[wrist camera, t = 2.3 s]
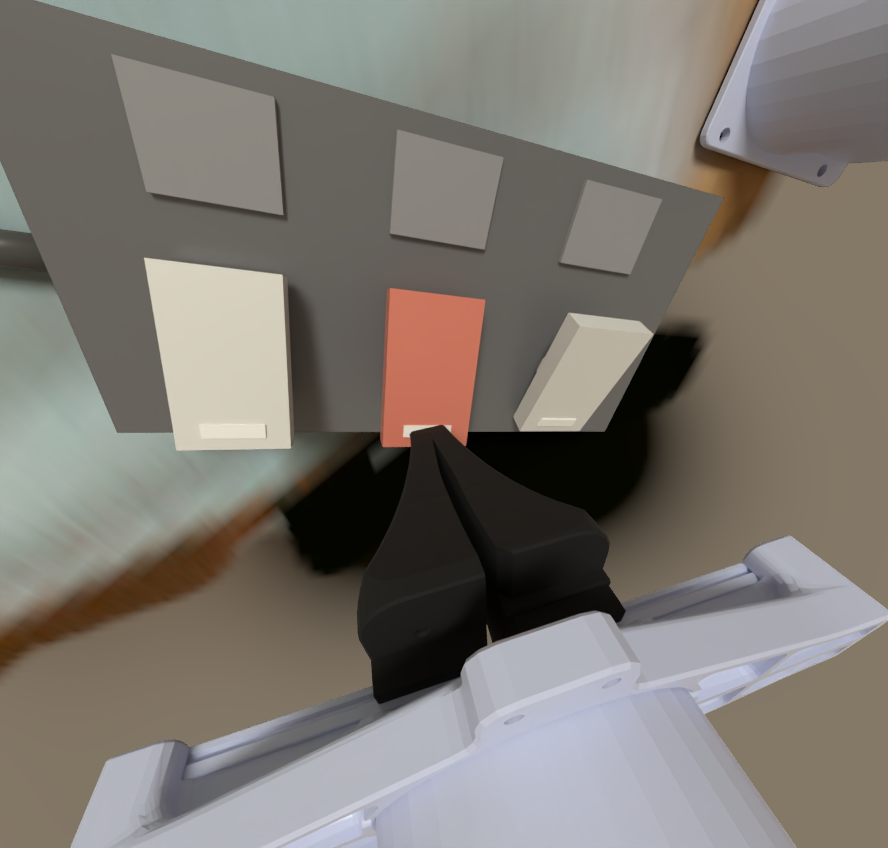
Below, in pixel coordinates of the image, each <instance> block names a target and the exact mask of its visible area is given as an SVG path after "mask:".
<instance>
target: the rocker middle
mask: <svg viewBox="0 0 888 848" xmlns="http://www.w3.org/2000/svg"><path fill="white" fill-rule="evenodd" d="M484 308H485V300H483V299H475V298H467V297H459V296H451V295H443V294H435V293H427V292H418V291H410V290H402V289H394V288H388V289H387V293H386V316H385V339H384V362H383V385H382V407H381V430H380V439H381V443H382V446H383V447H411V441H410V435H409V434H410V433H411V432H412V431H416V430H420V429H425V428H429V427H434V426H438V425H444V426H445V427H446V428H447V429H448V430H449V431H450V432H451V433H452V434H453V435H454V436H455V437H456V438H457V439H458V440H459V441H460V442H461V443H462V444H463V445H464V446H466V443H467V435H468V428H469V420H470V413H471V405H472V398H473V390H474V383H475V375H476V368H477V360H478V353H479V345H480V338H481V330H482V323H483V315H484Z"/></svg>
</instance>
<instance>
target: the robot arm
mask: <svg viewBox="0 0 888 848" xmlns="http://www.w3.org/2000/svg"><path fill="white" fill-rule="evenodd" d="M721 132H722V137H721V139H719V138H720V134H721ZM700 144H701V146H702V147H704V148H707V149H709V150H712V151H715V152H718V153H721V154H724V155H727V156H730V157H733V158H736V159H739V160H742V161H745V162H748V163H751V164H754V165H757V166H760V167H762V168H765V169H768V170H771V171H774V172H777V173H780V174H783V175H786V176H789V177H792V178H795V179H798V180H801V181H804V182H807V183H810V184H813V185H815V186H818V187H829V186H831V185H832V184H834V183H835V182H836V181H837V179H838V178H839V177H840V175H841V174H842V172H843V171H844V169H845V168H846V166H847V164H848V163H862V162H877V161H878V162H879V161H888V0H760V1H759V3H758V5H757V7H756V10H755V12H754V14H753V16H752V19H751V21H750V23H749V25H748V28H747V30H746V32H745V34H744V37H743V39H742V41H741V43H740V46H739V48H738V50H737V53H736V55H735V57H734V59H733V62H732V64H731V66H730V68H729V71H728V73H727V75H726V77H725V80H724V82H723V84H722V86H721V89H720V91H719V93H718V96H717V98H716V100H715V102H714V105H713V107H712V109H711V111H710V114H709V116H708V118H707V120H706V123H705V125H704V127H703V129H702V132H701V135H700ZM409 435H410V441H411V450H410V460H409V467H408V472H407V477H406V481H405V486H404V489H403V493H402V496H401V499H400V502H399V505H398V508H397V510H396V513H395V515H394V518H393V520H392V523H391V525H390V527H389V529H388V531H387V533H386V535H385V537H384V539H383V541H382V543H381V545H380V547H379V549H378V550H377V552H376V554H375V555H374V557H373V559H372V560H371V562H370V564H369V565H368V567H367V569H366V570H365V572H364V574H363V579H362V583H361V588H360V593H359V599H358V610H357V623H358V624H357V625H358V636H359V640H360V642H361V644H362V646H363V647H364V649H365V651H366V653H367V654H368V656H369V657H370V659H371V666H372V682H373V686H371V687H368V688H365V689H362V690H359V691H356V692H353V693H350V694H347V695H344V696H341V697H338V698H335V699H332V700H329V701H326V702H323V703H320V704H317V705H314V706H311V707H308V708H305V709H302V710H300V711H296V712H293V713H290V714H288V715H284V716H281V717H278V718H275V719H273V720H269V721H266V722H263V723H260V724H257V725H255V726H252V727H248V728H245V729H242V730H239V731H236V732H234V733H231V734H227V735H225V736H222V737H219V738H215V739H213V740H209V741H207V742H204V743H201V744H198V745H195V746H192V747H189V746H188V745H187V744H185V743H184V742H182V741H179V740H164V741H159V742H156V743H153V744H150V745H146V746H143V747H141V748H138V749H134V750H131V751H128V752H125V753H122V754H119V755H116V756H113V757H111V758H110V759H109V760H107V761H106V763H105V765H104V768H103V770H102V772H101V775H100V777H99V780H98V782H97V785H96V787H95V790H94V792H93V794H92V797H91V799H90V801H89V804H88V806H87V808H86V811H85V813H84V816H83V818H82V821H81V823H80V825H79V828H78V830H77V833H76V835H75V837H74V840H73V842H72V845H71V847H70V848H797V847H796V846H795V844H794V843H793V841H792V840H791V839H790V837H789V836H788V834H787V833H786V831H785V830H784V828H783V827H782V825H781V824H780V823H779V821H778V820H777V818H776V817H775V815H774V814H773V812H772V811H771V810H770V808H769V807H768V805H767V804H766V802H765V801H764V800H763V798H762V797H761V795H760V794H759V792H758V791H757V790H756V788H755V787H754V785H753V784H752V782H751V781H750V779H749V778H748V777H747V775H746V774H745V772H744V771H743V770H742V768H741V767H740V765H739V764H738V762H737V761H736V759H735V758H734V756H733V755H732V754H731V752H730V751H729V749H728V748H727V746H726V745H725V744H724V742H723V741H722V739H721V738H720V736H719V735H718V734H717V732H716V731H715V729H714V728H713V726H712V725H711V724H710V722H709V721H708V719H707V718H706V716H705V715H704V714H706V713H708V712H710V711H713V710H715V709H717V708H719V707H721V706H724V705H725V704H728V703H730V702H732V701H734V700H737V699H738V698H741V697H743V696H745V695H747V694H749V693H752V692H754V691H756V690H758V689H760V688H763V687H765V686H767V685H769V684H772V683H774V682H776V681H778V680H780V679H782V678H784V677H787V676H789V675H792V674H794V673H796V672H799V671H801V670H803V669H806V668H808V667H810V666H813V665H815V664H818V663H820V662H823V661H825V660H827V659H829V658H832V657H835V656H836V655H838V654H839V653H841V652H842V651H844V650H845V649H847V648H848V647H850V646H851V645H853V644H854V643H856V642H857V641H859V640H860V639H862V638H863V637H865V636H866V635H868V634H869V633H871V632H872V631H874V630H875V629H877V628H878V627H880V626H881V625H883V624H884V623H886V622H887V621H888V610H887V609H886V608H885V607H883V606H882V605H881V604H880V603H878V602H877V601H876V600H874V599H873V598H872V597H870V596H869V595H868V594H866V593H865V592H864V591H862V590H861V589H860V588H858V587H857V586H856V585H855V584H853V583H852V582H851V581H849V580H848V579H847V578H845V577H844V576H843V575H841V574H840V573H839V572H837V571H836V570H835V569H834V568H832V567H831V566H830V565H828V564H827V563H826V562H824V561H823V560H822V559H820V558H819V557H818V556H816V555H815V554H814V553H812V552H811V551H810V550H808V549H807V548H806V547H805V546H803V545H802V544H801V543H799V542H798V541H797V540H795V539H794V538H793V537H792V536H783V537H780V538H777V539H774V540H771V541H768V542H765V543H762V544H759V545H757V546H755V547H754V548H752V549H751V550H750V551H749V552H748V553H747V554H746V555H745V557H744V559H743V562H741V563H739V564H736V565H732V566H729V567H727V568H723V569H720V570H717V571H714V572H712V573H709V574H706V575H702V576H699V577H697V578H693V579H691V580H688V581H685V582H682V583H679V584H676V585H673V586H670V587H667V588H664V589H661V590H658V591H655V592H652V593H649V594H646V595H643V596H640V597H637V598H634V599H631V600H628V601H625V602H622V603H620V601H619V600H618V598H617V597H616V595H615V594H614V593H613V591H612V590H611V588H610V587H609V585H610V579H609V578H608V576H607V575H606V573H605V572H604V570H603V566H604V563H605V560H606V557H607V554H608V551H609V544H610V542H609V540H608V537H607V536H606V534H605V533H604V532H603V531H602V529H601V528H600V527H599V526H598V524H597V523H596V522H595V521H594V520H593V519H592V518H591V517H590V516H589V515H588V514H587V513H586V512H585V511H584V510H583V509H580V508H577V507H574V506H571V505H568V504H565V503H561V502H558V501H556V500H553V499H550V498H548V497H546V496H543V495H541V494H538V493H536V492H534V491H532V490H530V489H528V488H526V487H524V486H522V485H520V484H518V483H516V482H514V481H512V480H510V479H509V478H507V477H505V476H504V475H502V474H501V473H499V472H497V471H496V470H494V469H493V468H492V467H490V466H489V465H487V464H486V463H485V462H483V461H482V460H481V459H479V458H478V457H477V456H476V455H474V454H473V453H472V452H471V451H470V450H469V449H467V448H466V447H465V446H464V445H463V444H462V443H461V442H460V441H459V440H458V439H457V438H456V437H455V436H454V435H453V434H452V433H451V432H450V431H449V430H448V429H447V428H446V427H445V426H444V425H438V426H434V427H429V428H425V429H420V430H416V431H412V432H411V433H410V434H409ZM486 624H487V625H488V629H489V632H490V635H491V639H492V644H490V645H487V631H486Z"/></svg>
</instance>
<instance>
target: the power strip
mask: <svg viewBox="0 0 888 848" xmlns="http://www.w3.org/2000/svg"><path fill="white" fill-rule="evenodd" d="M0 161H1V164H2V166H3V168H4V171H5V173H6V175H7V178H8V180H9V182H10V185H11V187H12V189H13V192H14V194H15V196H16V199H17V201H18V203H19V206H20V208H21V210H22V212H23V215H24V217H25V219H26V222H27V224H28V226H29V229H30V231H31V233H25V232H17V231H9V230H2V229H0V267H5V268H14V269H23V270H33V271H42V272H48V273H49V275H50V278H51V280H52V282H53V285H54V287H55V289H56V291H57V294H58V296H59V298H60V301H61V303H62V305H63V308H64V310H65V312H66V315H67V317H68V319H69V322H70V324H71V326H72V329H73V331H74V333H75V336H76V338H77V340H78V343H79V345H80V347H81V350H82V352H83V354H84V357H85V359H86V361H87V364H88V366H89V368H90V371H91V373H92V375H93V377H94V380H95V382H96V384H97V387H98V389H99V391H100V394H101V396H102V398H103V401H104V403H105V405H106V408H107V410H108V412H109V415H110V417H111V419H112V422H113V424H114V426H115V429H116V431H117V433H165V432H173V427H172V421H171V415H170V409H169V403H168V397H167V391H166V385H165V379H164V373H163V367H162V361H161V356H160V350H159V344H158V338H157V332H156V326H155V320H154V314H153V308H152V302H151V296H150V290H149V284H148V278H147V272H146V267H145V261H144V258H151V259H159V260H167V261H175V262H183V263H191V264H200V265H208V266H216V267H224V268H232V269H240V270H248V271H256V272H264V273H272V274H281V275H284V276H287V283H288V305H289V327H290V350H291V372H292V394H293V417H294V432H380V430H381V407H382V385H383V362H384V339H385V316H386V293H387V289H388V288H394V289H402V290H410V291H418V292H427V293H435V294H443V295H451V296H459V297H467V298H475V299H483V300H485V308H484V315H483V323H482V330H481V338H480V345H479V353H478V360H477V368H476V375H475V383H474V390H473V398H472V405H471V413H470V420H469V428H468V432H532V431H519V428H518V426H517V424H516V422H515V420H514V417H513V416H514V414H515V413H516V411H517V409H518V407H519V405H520V403H521V401H522V399H523V397H524V396H525V394H526V392H527V390H528V388H529V386H530V384H531V382H532V380H533V379H534V377H535V375H536V373H537V371H536V370H537V368H538V366H539V365H540V363H541V361H542V359H543V357H544V358H545V356H546V354H547V352H548V350H549V348H550V346H551V345H552V343H553V341H554V339H555V337H556V335H557V333H558V331H559V329H560V328H561V326H562V324H563V322H564V320H565V318H566V316H567V314H568V313H576V314H584V315H593V316H601V317H609V318H617V319H626V320H634V321H640V322H641V323H642V324H643V325H644V326H645V327H646V328H647V329H648V330H650V331H651V332H652V333H653V336H654V334H655V332H656V330H657V328H658V326H659V324H660V322H661V320H662V318H663V316H664V314H665V312H666V310H667V308H668V306H669V304H670V302H671V300H672V298H673V296H674V294H675V293H676V291H677V289H678V287H679V285H680V283H681V281H682V279H683V277H684V275H685V273H686V271H687V269H688V267H689V265H690V263H691V261H692V259H693V257H694V255H695V253H696V252H697V250H698V248H699V246H700V244H701V242H702V240H703V238H704V236H705V234H706V232H707V230H708V228H709V226H710V224H711V222H712V220H713V218H714V216H715V214H716V212H717V210H718V208H719V206H720V205H721V203H722V201H723V199H724V198H723V197H720V196H716V195H713V194H709V193H706V192H702V191H699V190H695V189H692V188H688V187H685V186H681V185H678V184H674V183H671V182H667V181H664V180H660V179H657V178H653V177H650V176H646V175H643V174H639V173H636V172H632V171H629V170H625V169H622V168H618V167H615V166H611V165H608V164H604V163H601V162H597V161H594V160H590V159H587V158H583V157H580V156H576V155H573V154H569V153H566V152H562V151H559V150H555V149H552V148H548V147H545V146H541V145H538V144H534V143H531V142H528V141H524V140H521V139H517V138H514V137H510V136H507V135H503V134H500V133H496V132H493V131H489V130H486V129H482V128H479V127H475V126H472V125H468V124H465V123H461V122H458V121H454V120H451V119H447V118H444V117H440V116H437V115H433V114H430V113H426V112H423V111H419V110H416V109H412V108H409V107H405V106H402V105H398V104H395V103H391V102H388V101H384V100H381V99H377V98H374V97H370V96H367V95H363V94H360V93H356V92H353V91H349V90H346V89H342V88H339V87H335V86H332V85H328V84H325V83H321V82H318V81H314V80H311V79H307V78H304V77H300V76H297V75H293V74H290V73H286V72H283V71H279V70H276V69H272V68H269V67H265V66H262V65H258V64H255V63H251V62H248V61H244V60H241V59H237V58H234V57H230V56H227V55H223V54H220V53H216V52H213V51H209V50H206V49H202V48H199V47H196V46H192V45H189V44H185V43H182V42H178V41H175V40H171V39H168V38H164V37H161V36H157V35H154V34H150V33H147V32H143V31H140V30H136V29H133V28H129V27H126V26H122V25H119V24H115V23H112V22H108V21H105V20H101V19H98V18H94V17H91V16H87V15H84V14H80V13H77V12H73V11H70V10H66V9H63V8H59V7H56V6H52V5H49V4H45V3H42V2H38V1H35V0H0ZM653 336H652V337H651V338H650V340H649V341H648V342H647V344H646V345H645V346H644V348H643V349H642V350H641V351H640V353H639V354H638V355H637V357H636V358H635V359H634V361H633V362H632V363H631V364H630V366H629V367H628V368H627V370H626V371H625V372H624V374H623V375H622V376H621V378H620V379H619V380H618V381H617V383H616V384H615V385H614V387H613V388H612V389H611V391H610V392H609V393H608V394H607V396H606V397H605V398H604V400H603V401H602V402H601V404H600V405H599V406H598V408H597V409H596V410H595V411H594V413H593V414H592V415H591V417H590V418H589V419H588V421H587V422H586V423H585V424H584V426H583V427H582V428H581V430H580V431H605V430H606V428H607V426H608V424H609V422H610V420H611V418H612V416H613V414H614V412H615V410H616V408H617V406H618V404H619V402H620V400H621V398H622V396H623V394H624V392H625V390H626V389H627V387H628V385H629V383H630V381H631V379H632V377H633V375H634V373H635V371H636V369H637V367H638V365H639V363H640V361H641V359H642V357H643V355H644V353H645V351H646V349H647V347H648V345H649V343H650V342H651V340H652V338H653Z"/></svg>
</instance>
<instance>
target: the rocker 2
mask: <svg viewBox="0 0 888 848" xmlns="http://www.w3.org/2000/svg"><path fill="white" fill-rule="evenodd" d="M652 336H653V333H652V332H651V331H650V330H648V329H647V328H646V327H645V326H644V325H643V324H642V323H641V322H640V321H634V320H626V319H617V318H609V317H601V316H593V315H584V314H576V313H568V314H567V316H566V318H565V320H564V322H563V324H562V326H561V328H560V329H559V331H558V333H557V335H556V337H555V339H554V341H553V343H552V345H551V346H550V348H549V350H548V352H547V354H546V356H545V358H544V357H543V359H542V361H541V363H540V365H539V366H538V368H537V370H536V371H537V373H536V375H535V377H534V379H533V380H532V382H531V384H530V386H529V388H528V390H527V392H526V394H525V396H524V397H523V399H522V401H521V403H520V405H519V407H518V409H517V411H516V413H515V414H514V416H513V417H514V420H515V422H516V424H517V426H518V428H519V431H580V430H581V428H582V427H583V426H584V424H585V423H586V422H587V421H588V419H589V418H590V417H591V415H592V414H593V413H594V411H595V410H596V409H597V408H598V406H599V405H600V404H601V402H602V401H603V400H604V398H605V397H606V396H607V394H608V393H609V392H610V391H611V389H612V388H613V387H614V385H615V384H616V383H617V381H618V380H619V379H620V378H621V376H622V375H623V374H624V372H625V371H626V370H627V368H628V367H629V366H630V364H631V363H632V362H633V361H634V359H635V358H636V357H637V355H638V354H639V353H640V351H641V350H642V349H643V348H644V346H645V345H646V344H647V342H648V341H649V340H650V338H651V337H652Z"/></svg>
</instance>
